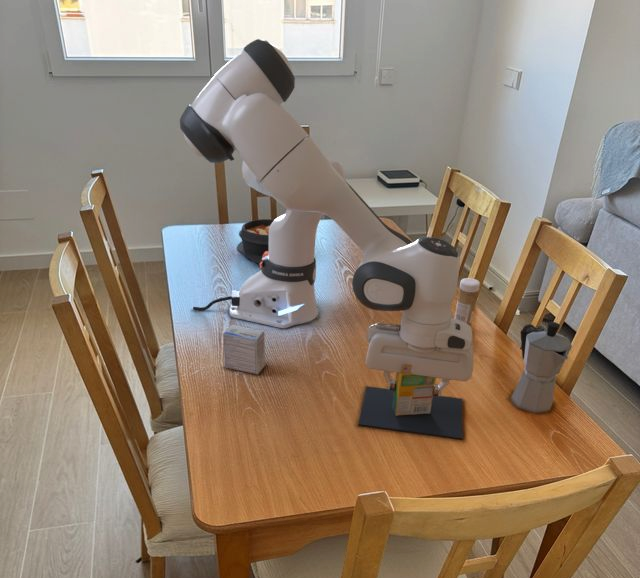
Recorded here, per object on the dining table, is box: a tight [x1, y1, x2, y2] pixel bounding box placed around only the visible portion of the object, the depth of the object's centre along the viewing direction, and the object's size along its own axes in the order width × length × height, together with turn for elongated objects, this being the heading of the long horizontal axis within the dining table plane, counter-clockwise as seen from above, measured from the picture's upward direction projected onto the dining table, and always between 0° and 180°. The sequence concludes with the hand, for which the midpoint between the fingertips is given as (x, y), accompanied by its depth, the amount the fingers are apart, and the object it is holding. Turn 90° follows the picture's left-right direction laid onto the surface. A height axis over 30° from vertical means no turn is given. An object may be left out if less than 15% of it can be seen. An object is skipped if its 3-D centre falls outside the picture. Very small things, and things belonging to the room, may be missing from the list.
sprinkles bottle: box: [453, 277, 481, 328], centre depth 152 cm, size 5×5×14 cm
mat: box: [357, 386, 464, 441], centre depth 127 cm, size 20×14×1 cm
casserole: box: [236, 218, 275, 264], centre depth 190 cm, size 25×19×8 cm
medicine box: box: [222, 324, 266, 375], centre depth 135 cm, size 8×4×9 cm, turn 71°
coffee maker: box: [509, 321, 573, 414], centre depth 127 cm, size 15×9×18 cm, turn 17°
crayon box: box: [392, 365, 437, 416], centre depth 123 cm, size 7×3×12 cm, turn 100°
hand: (414, 391), depth 124 cm, fingers closed on crayon box, 7 cm apart
